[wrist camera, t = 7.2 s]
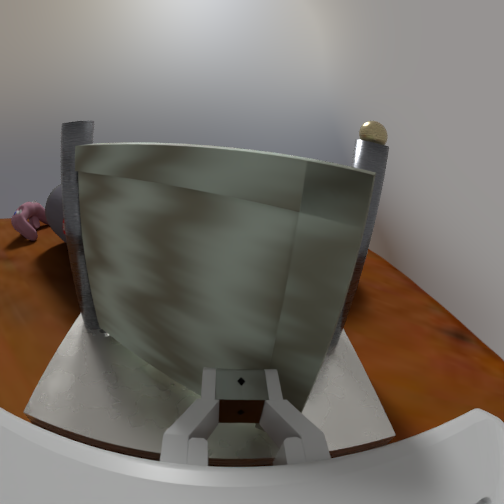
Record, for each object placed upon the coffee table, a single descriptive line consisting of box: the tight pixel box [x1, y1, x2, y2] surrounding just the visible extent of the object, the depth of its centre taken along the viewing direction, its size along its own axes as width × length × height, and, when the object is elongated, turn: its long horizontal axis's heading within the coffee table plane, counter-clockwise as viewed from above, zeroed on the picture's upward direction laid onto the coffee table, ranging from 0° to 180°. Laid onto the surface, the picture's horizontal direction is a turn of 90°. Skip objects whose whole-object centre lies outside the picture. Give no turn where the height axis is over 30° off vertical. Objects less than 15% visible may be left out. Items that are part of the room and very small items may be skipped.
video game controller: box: [11, 201, 49, 241], centre depth 37 cm, size 10×5×7 cm, turn 16°
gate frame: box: [24, 121, 395, 466], centre depth 15 cm, size 24×16×19 cm, turn 94°
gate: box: [75, 143, 376, 432], centre depth 13 cm, size 16×2×14 cm, turn 62°
